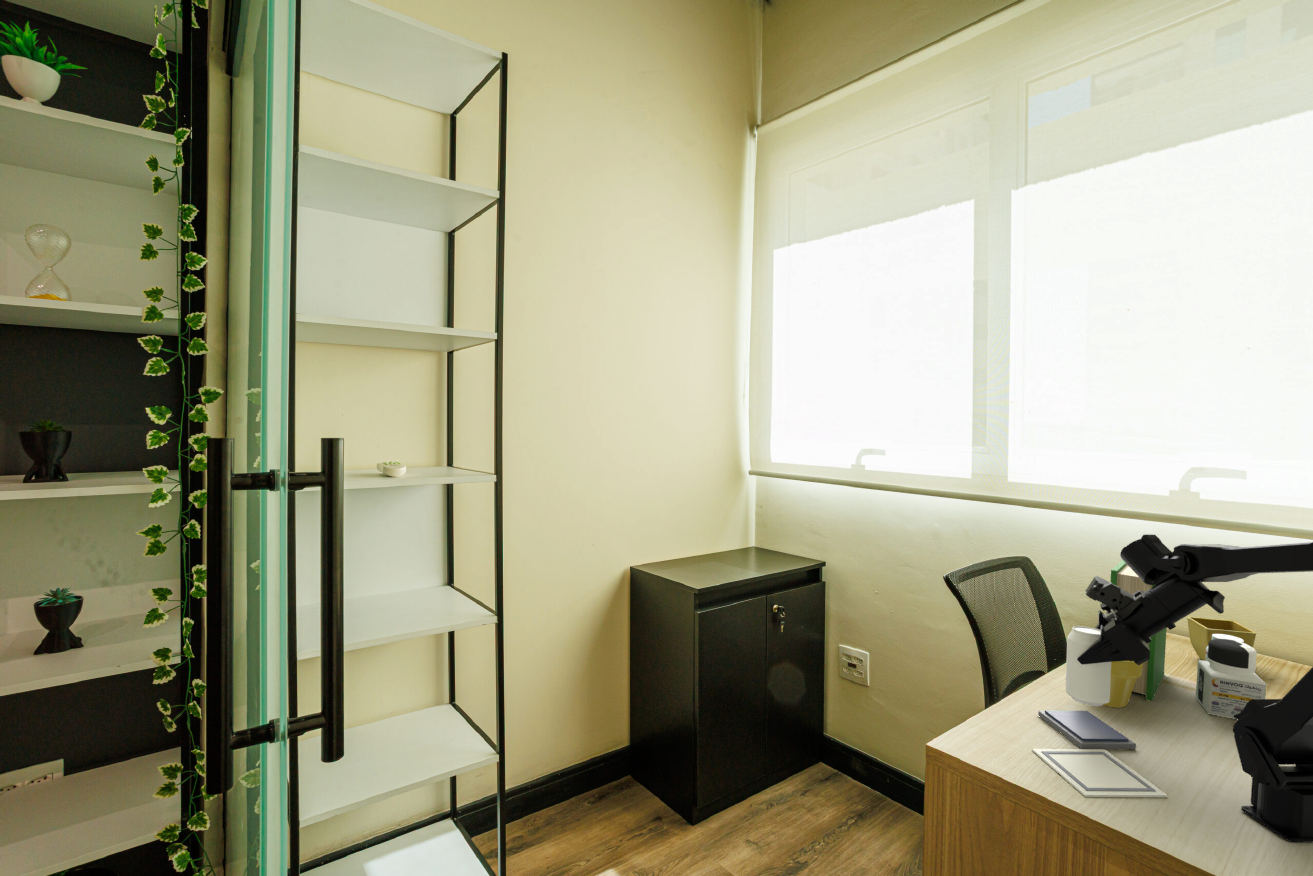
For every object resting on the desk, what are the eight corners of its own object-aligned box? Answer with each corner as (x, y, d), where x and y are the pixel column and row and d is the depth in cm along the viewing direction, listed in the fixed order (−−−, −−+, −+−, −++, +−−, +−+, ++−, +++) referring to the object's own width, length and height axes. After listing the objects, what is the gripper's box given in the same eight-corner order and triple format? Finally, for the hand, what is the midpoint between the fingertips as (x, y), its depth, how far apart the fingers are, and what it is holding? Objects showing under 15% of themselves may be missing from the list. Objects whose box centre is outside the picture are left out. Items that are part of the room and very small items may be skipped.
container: (1207, 715, 113) (1212, 645, 113) (1195, 698, 120) (1198, 632, 119) (1264, 725, 110) (1269, 653, 109) (1247, 707, 116) (1252, 640, 116)
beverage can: (1102, 697, 107) (1104, 628, 107) (1115, 711, 101) (1117, 637, 101) (1060, 691, 109) (1063, 623, 109) (1071, 704, 103) (1073, 632, 103)
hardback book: (1151, 701, 118) (1158, 577, 117) (1104, 688, 124) (1111, 570, 123) (1163, 674, 131) (1170, 562, 130) (1120, 664, 136) (1126, 556, 135)
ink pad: (1135, 749, 101) (1136, 741, 101) (1081, 749, 100) (1081, 741, 100) (1087, 716, 112) (1087, 708, 112) (1038, 716, 111) (1038, 708, 111)
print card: (1167, 797, 88) (1167, 794, 88) (1084, 797, 88) (1085, 794, 88) (1104, 751, 100) (1104, 748, 100) (1031, 750, 100) (1032, 748, 100)
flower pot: (1205, 669, 134) (1207, 628, 134) (1184, 654, 143) (1186, 615, 142) (1255, 674, 132) (1257, 633, 131) (1230, 659, 140) (1233, 620, 140)
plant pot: (1145, 718, 111) (1148, 665, 111) (1076, 704, 116) (1079, 653, 116) (1135, 696, 120) (1137, 646, 120) (1071, 683, 125) (1073, 636, 125)
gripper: (1118, 554, 110) (1043, 604, 117) (1125, 575, 95) (1039, 631, 101) (1173, 606, 106) (1092, 654, 113) (1190, 637, 91) (1095, 691, 97)
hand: (1078, 656), depth 106 cm, fingers closed on beverage can, 6 cm apart
